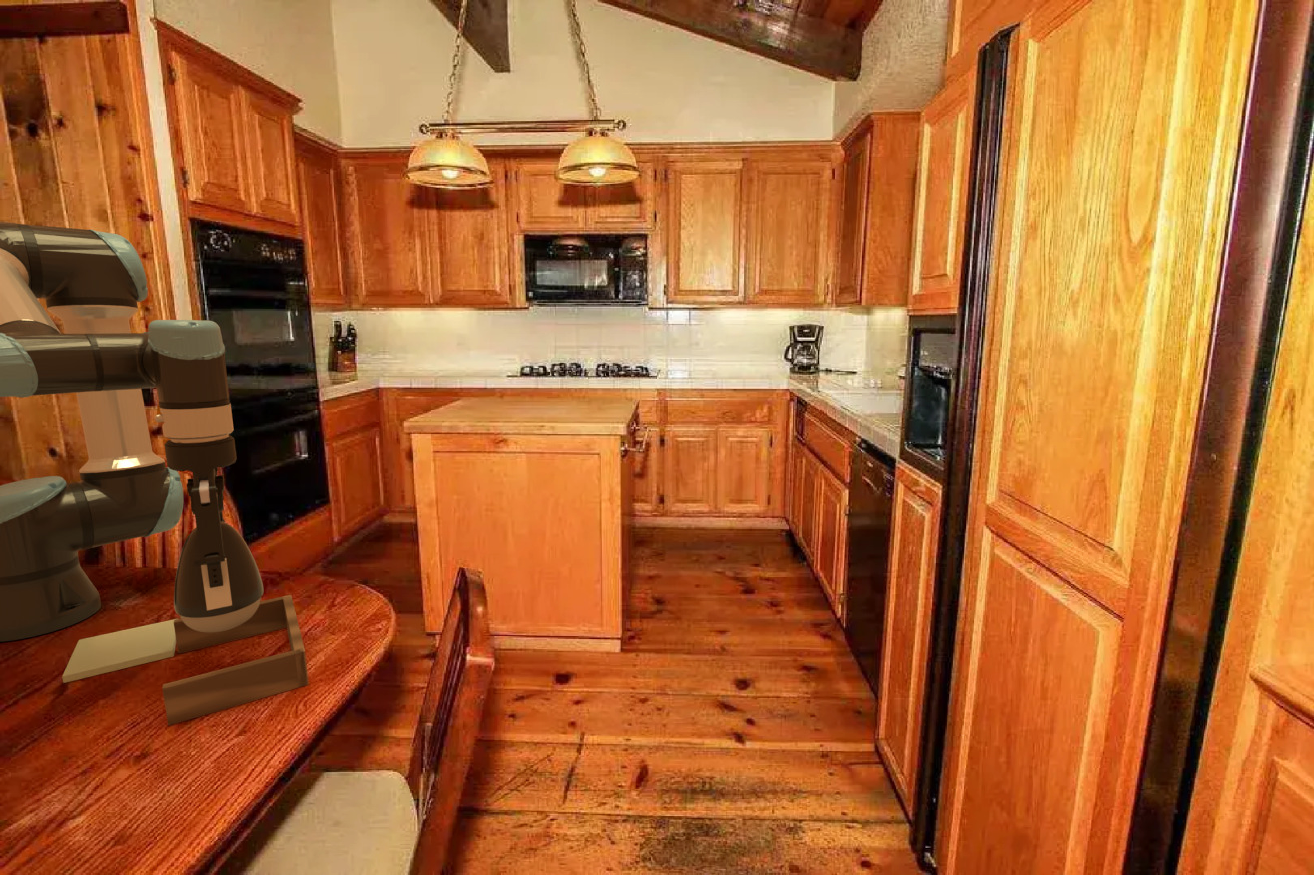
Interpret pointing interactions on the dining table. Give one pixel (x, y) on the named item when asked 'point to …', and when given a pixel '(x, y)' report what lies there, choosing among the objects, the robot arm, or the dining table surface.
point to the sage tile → (121, 650)
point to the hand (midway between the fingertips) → (219, 591)
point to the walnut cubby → (241, 679)
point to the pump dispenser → (241, 580)
